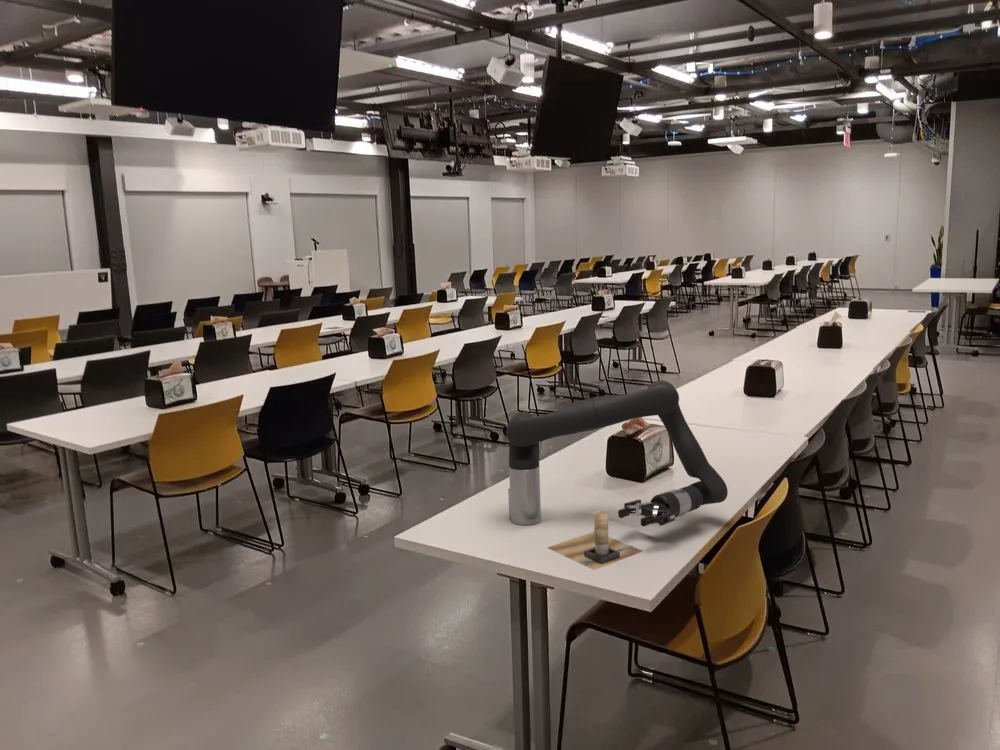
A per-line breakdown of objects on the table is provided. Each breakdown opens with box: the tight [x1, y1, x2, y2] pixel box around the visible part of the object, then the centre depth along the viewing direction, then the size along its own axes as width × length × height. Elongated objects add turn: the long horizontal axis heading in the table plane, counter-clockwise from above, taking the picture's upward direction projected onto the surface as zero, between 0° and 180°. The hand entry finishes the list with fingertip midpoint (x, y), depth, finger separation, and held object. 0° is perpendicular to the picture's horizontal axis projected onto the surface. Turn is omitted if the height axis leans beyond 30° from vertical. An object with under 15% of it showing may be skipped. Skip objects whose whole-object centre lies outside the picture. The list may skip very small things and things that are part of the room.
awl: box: [593, 510, 609, 557], centre depth 207 cm, size 4×4×12 cm
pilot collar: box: [584, 547, 620, 564], centre depth 208 cm, size 7×7×2 cm
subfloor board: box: [546, 531, 644, 571], centre depth 213 cm, size 19×18×2 cm
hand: (630, 518), depth 213 cm, fingers open, 8 cm apart
